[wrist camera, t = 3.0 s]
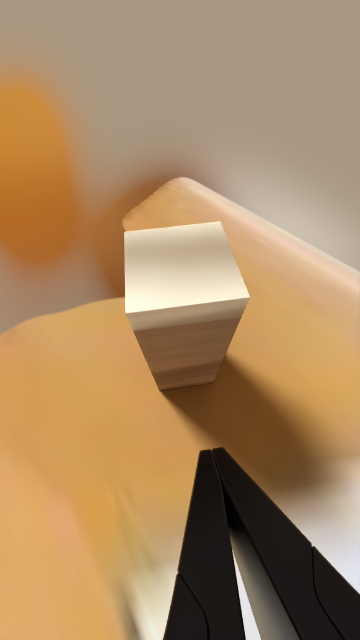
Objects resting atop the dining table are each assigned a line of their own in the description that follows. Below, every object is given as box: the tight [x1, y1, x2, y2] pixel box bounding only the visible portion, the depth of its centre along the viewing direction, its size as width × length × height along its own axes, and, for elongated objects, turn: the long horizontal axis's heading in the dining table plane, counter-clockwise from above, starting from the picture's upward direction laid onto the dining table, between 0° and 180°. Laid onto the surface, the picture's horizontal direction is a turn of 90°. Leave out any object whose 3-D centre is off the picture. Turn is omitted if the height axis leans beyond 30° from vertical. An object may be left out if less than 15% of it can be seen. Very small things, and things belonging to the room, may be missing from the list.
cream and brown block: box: [124, 222, 250, 391], centre depth 15 cm, size 5×5×13 cm
